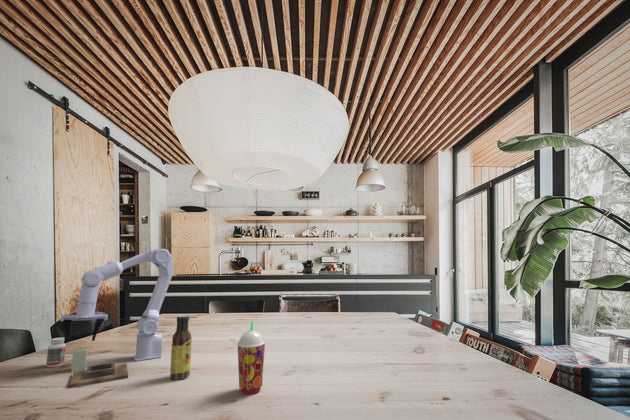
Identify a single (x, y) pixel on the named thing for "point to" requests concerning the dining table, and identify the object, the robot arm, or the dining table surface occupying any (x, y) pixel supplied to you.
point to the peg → (79, 359)
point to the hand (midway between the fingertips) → (80, 340)
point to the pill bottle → (56, 353)
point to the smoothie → (251, 361)
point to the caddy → (99, 374)
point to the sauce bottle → (181, 349)
